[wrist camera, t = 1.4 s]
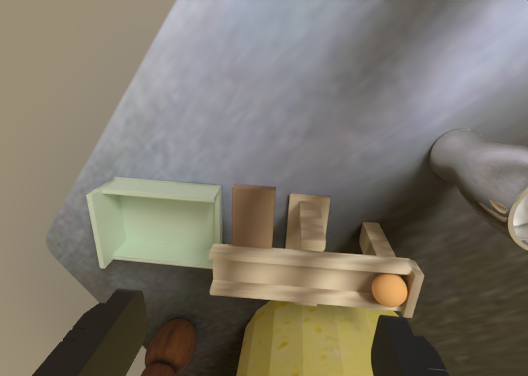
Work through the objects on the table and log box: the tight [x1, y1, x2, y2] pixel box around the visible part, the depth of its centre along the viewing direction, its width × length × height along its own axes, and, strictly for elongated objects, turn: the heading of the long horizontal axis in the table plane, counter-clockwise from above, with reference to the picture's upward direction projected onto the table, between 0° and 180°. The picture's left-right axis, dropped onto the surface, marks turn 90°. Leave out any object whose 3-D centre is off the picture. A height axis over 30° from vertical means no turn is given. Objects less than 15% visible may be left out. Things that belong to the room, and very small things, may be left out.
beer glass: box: [429, 128, 528, 250], centre depth 28 cm, size 7×7×15 cm
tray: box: [86, 177, 222, 269], centre depth 39 cm, size 10×14×6 cm
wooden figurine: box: [141, 318, 196, 376], centre depth 43 cm, size 7×6×15 cm
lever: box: [209, 184, 424, 318], centre depth 30 cm, size 20×11×3 cm, turn 87°
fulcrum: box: [285, 194, 396, 306], centre depth 36 cm, size 12×9×10 cm
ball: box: [372, 273, 407, 307], centre depth 30 cm, size 3×3×3 cm
